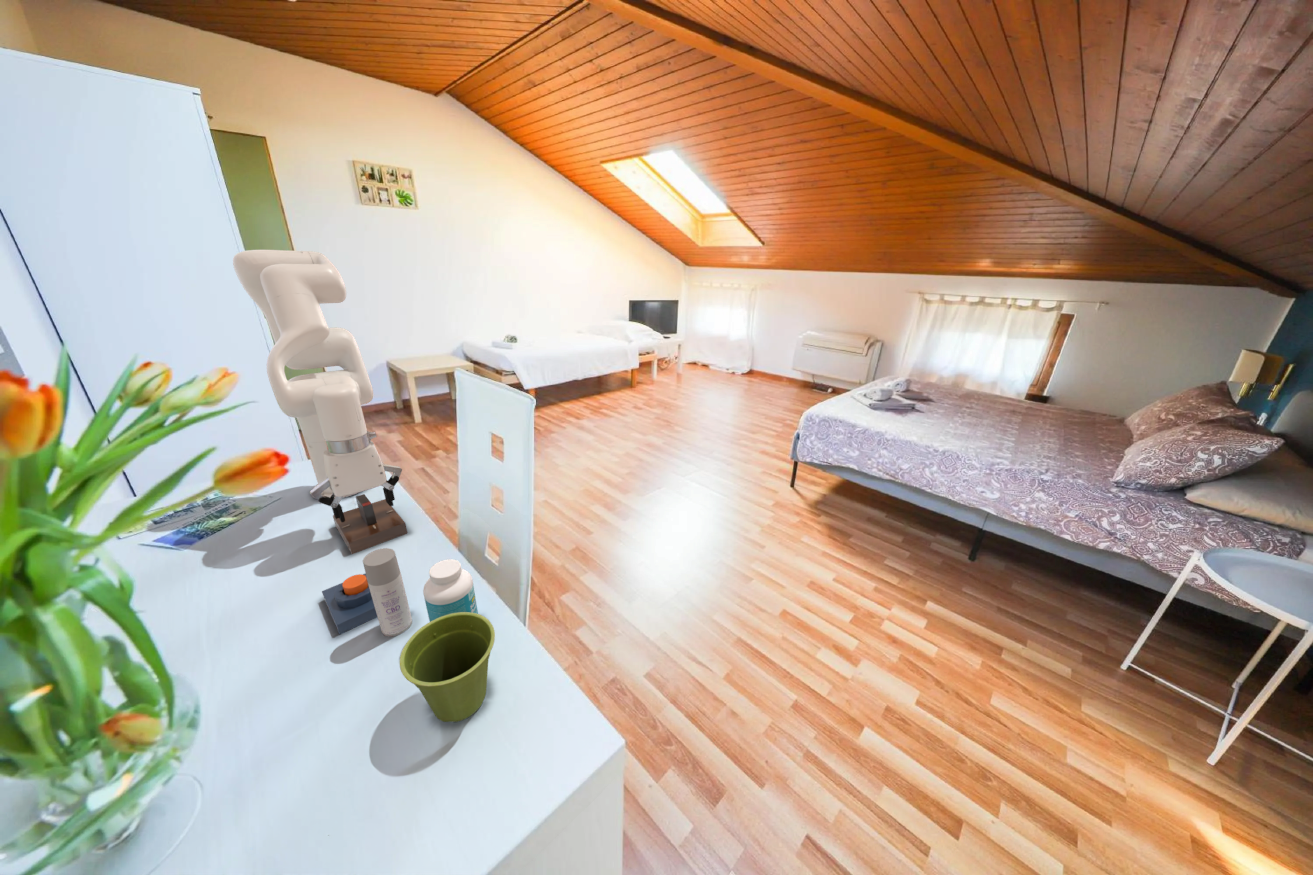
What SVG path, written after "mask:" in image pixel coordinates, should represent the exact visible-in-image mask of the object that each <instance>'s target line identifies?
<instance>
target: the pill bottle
mask: <svg viewBox="0 0 1313 875" xmlns="http://www.w3.org/2000/svg"><path fill="white" fill-rule="evenodd" d="M428 575H429V578H428V579H427V580H426V581H425V583H424V585H423V590H422V594H423V598H424V599H423V600H424V603H425V607H426V612H427V617H428V620H429V622H431V621H433V620H435V619H437V618H439V617H442V616H445V615H448V614H452V613H458V612H471V613H476V614H479V611H478V604H477V598H476V594H475V592H476V591H475V586H474V581H473V580H474V579H473V576H472V574H471V573H470V572H469V571H467V570H466V569H464V568H463V567H462V565H461V562H460V561H459V560H457V559H455V558H454V559H452V558H451V559H450V558H449V559H448V558H447V559H444V560H439V561H438V562H436V563H435V564H433V565H432V566H431V567H430V569H429V572H428Z"/></svg>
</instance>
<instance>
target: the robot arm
mask: <svg viewBox="0 0 1313 875" xmlns="http://www.w3.org/2000/svg"><path fill="white" fill-rule="evenodd" d="M232 266H233V268H234V272H235V274H236V277H237V279H238V280H239V282H240V284H241V286H242V288H243V289H244V290H245V292H246V293H247V295H248V296H249V297H250V299H251V300H252V301H253V302H254V303H255V304H256V306H257V307H258V308H259V309H260V311H261V312H262V314H263V315H264V317H265V319H266V323H267V325H268V327H269V330H270V333H271V336H272V339H273V342H274V345H273V346H272V348H271V349H270V351H269V353H268V356H267V359H266V374H267V378H268V382H269V384H270V386H271V390H272V392H273V395H274V398H275V400H276V403H277V405H278V407H279V409H280V411H281V412H282V413H283V414H284V415H286V416H288V417H290V418H295V419H296V420H297V422H298V425H299V428H300V430H301V433H302V437H303V440H304V444H305V446H306V449H307V453H308V455H309V459H310V462H311V465H312V470H313V472H314V476H315V478H316V481H317V482H316V483H317V484H316V485H314V487H313V488H312V489H311V490H310V491H309V495H310V496H311V497H312V498H313V499H315V500H316V501H318V502H319V503H320V504H323V505H325V506H328V507H330V508H331V510H332V513H333V515H334V516H335V518H336V519H337V518H339V519H340V521H341V522H345V517H344V514H343V512H344V511H343V507H342V505H341V503H340V502H341V500H342V499H345V498H347V497H351V496H354V495H357V494H359V493H361V492H365V491H368V490H372V489H375V488H378V487H382V491H383V495H384V499H386V502H387V503H388V505H389V506H392V507H393V506H394V501H396V497H395V494H394V490H395V486H396V484H397V483H398V482H399V480H400V476H401V474H402V472H403V468H401V466H397V465H392V464H384V463H383V462H382V459H381V456H380V453H379V452H378V449H377V446H376V445H375V443H374V442H373V441H372V439H375V438H377V436H378V435H377V433H376V431H369V430H368V429H367V425H366V421H365V416H364V412H363V409H362V405H367V404H369V403H371V402H372V401H373V399H374V389H373V388H374V387H373V385H372V382H371V379H370V376H369V372H368V370H367V367H366V364H365V361H364V359H363V356H362V353H361V349H360V347H359V345H358V342H357V340H356V337H355V336H354V335H353V333H352V332H350V331H349V330H348V329H346V328H343V327H329V325H328V323H327V319H326V317H325V316H324V313H323V310H322V307H321V304H341V303H343V302H345V301H346V298H347V287H346V283H345V281H344V279H343V277H342V274H341V273H340V271H339V270H338V269H337V267H336V266H335V265H334V264H333V262H332V261H331V260H330V259H329V258H328V257H327V256H325V254H323V253H321V252H319V251H313V250H284V249H283V250H282V249H247V250H242V251H239V252H237V253H235V255H233V258H232ZM285 367H287V368H288V369H290V370H295V371H300V370H301V371H302V370H303V371H304V370H314V369H322V368H330V367H331V368H332V367H340V368H342V369H338V370H337V369H336V370H330V371H319V372H311V373H306V374H305V373H304V374H300V375H296V376H293V377H291V378H290V379H287V376H286V372H285V371H286V370H285ZM386 472H389V473H392V475H391V476H390V477H389V479H388V478H387V474H386ZM387 479H388V480H387Z"/></svg>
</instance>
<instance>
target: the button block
mask: <svg viewBox="0 0 1313 875" xmlns="http://www.w3.org/2000/svg"><path fill="white" fill-rule="evenodd" d="M362 575H365V576H366V573H365V572H364V573H362ZM366 578H367V577H366ZM367 582H368V581H367ZM342 584H343V582H341V583H338V584H336V585H333V586H331V587H329V588H326V589H323V590H322V591H321V593H322V596H323V598H324V602H325V604H326V606H327V609H328V611H329V614H330V616H331V618H332V620H333V623H334V625H335V628H336V630H337V632H338V634H339V635H342V634H344V633H347V632H349V631H351V630H353V629H355V628H357V627H359V626H361V625H363V624H366V623H367V622H370V621H372V620H375V619H376V618H378V617H377V613H376V610H375V606H374V603H373V599H372V596H371V592H370V589H369V585H368V587H367V589H365V590H364V591H363V592H361V593H358V594H356V595H350V596H349V595H346V594H345V592H344V589H343V586H342Z"/></svg>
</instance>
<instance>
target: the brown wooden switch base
mask: <svg viewBox="0 0 1313 875" xmlns="http://www.w3.org/2000/svg"><path fill="white" fill-rule="evenodd" d="M371 503H372V506H373V509H374V513H375V517H376V521H377V523H375V524H372V525H369V526H368V525H367V524H366V522H365V521H364V519H363V518H362V516H361V515H360V512H359V508H358V507H356V508H352V509H350V510H347V511H343V514H344V517H345V522H341V521H340V519H339V518H337V519H336V518H335V516H334V514H333V515H332V518H333V522H334V525H335V527H336V530H337V531H338V533H339V534H340V537H341V538H342V540H343V541H344V543H345V545H346V547H347V548H348V550H349V552H350V554H351V555H354V554H357V553H359V552H362V551H365V550H367V549H370V548H373V547H375V546H378V545H381V544H383V543H386V542H389V541H391V540H394V539H396V538H399V537H402V536H405V535H408V528H407V525H406V521H404V519H403V518H402V517H401V516H400V514H399V513H398V512H397V511H396V510H395V508H394V507H393V506H389V505H388V503H387V502H386V499H385V498H384V499H381V500H377V501H374V502H371Z"/></svg>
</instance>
